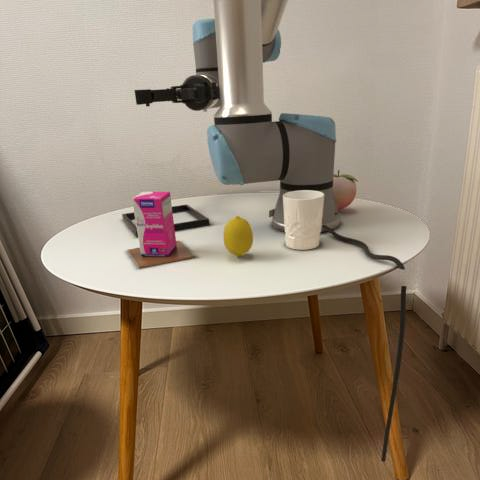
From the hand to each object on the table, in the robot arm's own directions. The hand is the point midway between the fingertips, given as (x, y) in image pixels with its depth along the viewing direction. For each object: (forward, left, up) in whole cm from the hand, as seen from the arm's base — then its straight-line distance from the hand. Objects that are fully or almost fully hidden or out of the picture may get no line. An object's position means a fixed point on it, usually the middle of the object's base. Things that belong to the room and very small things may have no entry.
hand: (167, 95), depth 87 cm
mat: (-13, +9, -28) cm, 32 cm away
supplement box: (-13, +9, -28) cm, 32 cm away
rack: (+10, +2, -28) cm, 30 cm away
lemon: (-23, -4, -28) cm, 37 cm away
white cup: (-23, -18, -28) cm, 41 cm away
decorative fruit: (-6, -38, -28) cm, 48 cm away
